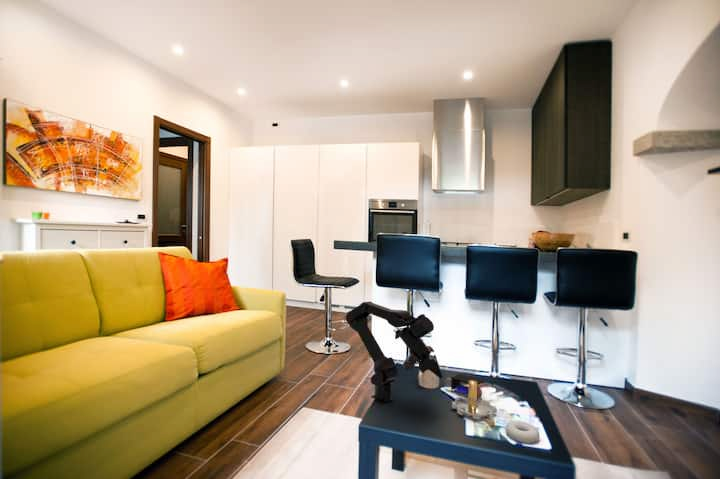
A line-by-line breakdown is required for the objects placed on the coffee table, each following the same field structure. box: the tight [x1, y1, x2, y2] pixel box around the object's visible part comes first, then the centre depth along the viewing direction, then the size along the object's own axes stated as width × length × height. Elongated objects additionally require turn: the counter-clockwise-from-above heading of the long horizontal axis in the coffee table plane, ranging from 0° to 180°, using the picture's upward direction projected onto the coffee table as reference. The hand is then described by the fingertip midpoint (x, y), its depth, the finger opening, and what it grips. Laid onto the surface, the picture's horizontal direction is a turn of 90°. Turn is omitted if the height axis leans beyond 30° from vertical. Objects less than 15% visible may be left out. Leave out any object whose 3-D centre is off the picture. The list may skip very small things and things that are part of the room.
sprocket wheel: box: [451, 380, 498, 420], centre depth 132 cm, size 15×15×12 cm
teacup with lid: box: [418, 362, 441, 390], centre depth 156 cm, size 12×9×12 cm
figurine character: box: [443, 373, 485, 400], centre depth 149 cm, size 7×8×15 cm
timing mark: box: [484, 418, 496, 426], centre depth 124 cm, size 2×2×1 cm
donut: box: [505, 420, 540, 444], centre depth 116 cm, size 10×4×10 cm
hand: (441, 377), depth 130 cm, fingers closed
